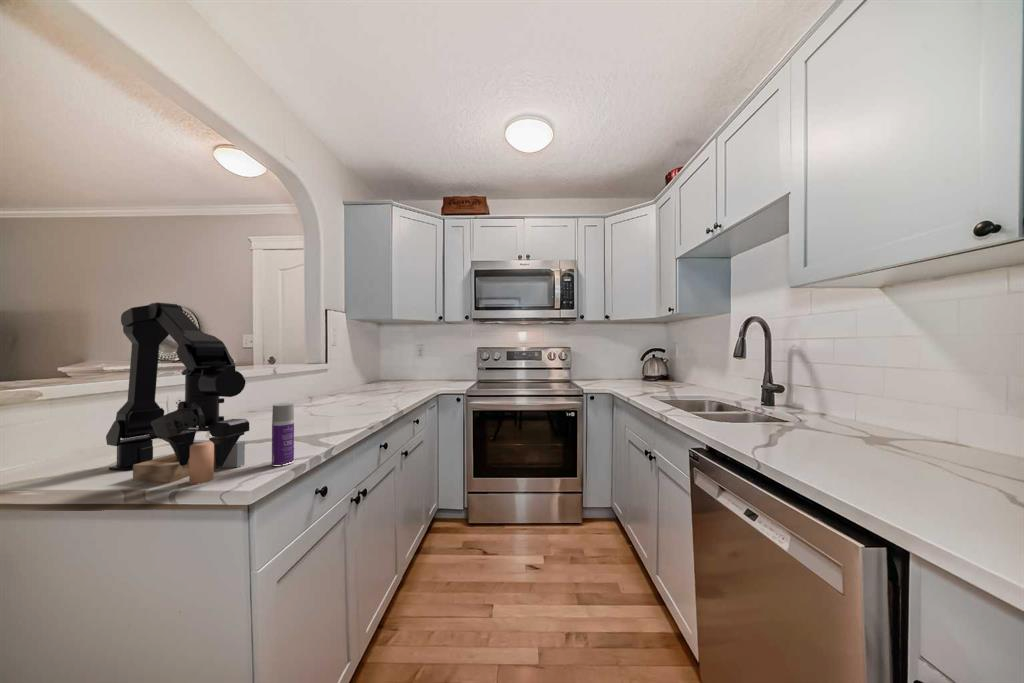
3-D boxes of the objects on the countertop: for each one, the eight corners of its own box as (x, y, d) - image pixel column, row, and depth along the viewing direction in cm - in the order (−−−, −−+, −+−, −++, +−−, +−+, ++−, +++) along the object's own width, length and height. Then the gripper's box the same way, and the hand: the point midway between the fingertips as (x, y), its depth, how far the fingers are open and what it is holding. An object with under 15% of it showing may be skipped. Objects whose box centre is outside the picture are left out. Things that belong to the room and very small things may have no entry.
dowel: (184, 483, 75) (184, 446, 75) (203, 477, 79) (203, 441, 79) (199, 484, 74) (200, 447, 74) (218, 477, 78) (218, 442, 78)
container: (285, 466, 85) (286, 405, 86) (267, 466, 85) (267, 406, 86) (297, 460, 90) (298, 403, 90) (280, 461, 90) (280, 403, 90)
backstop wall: (181, 465, 87) (181, 441, 87) (190, 463, 89) (190, 439, 89) (237, 467, 85) (237, 443, 85) (244, 465, 87) (244, 441, 87)
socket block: (132, 480, 77) (133, 464, 77) (181, 465, 87) (181, 451, 87) (170, 482, 76) (170, 466, 76) (215, 467, 86) (216, 453, 86)
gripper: (122, 400, 70) (120, 477, 70) (201, 400, 68) (200, 481, 67) (181, 393, 81) (180, 460, 81) (251, 393, 79) (251, 462, 78)
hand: (201, 466), depth 77 cm, fingers open, 9 cm apart
